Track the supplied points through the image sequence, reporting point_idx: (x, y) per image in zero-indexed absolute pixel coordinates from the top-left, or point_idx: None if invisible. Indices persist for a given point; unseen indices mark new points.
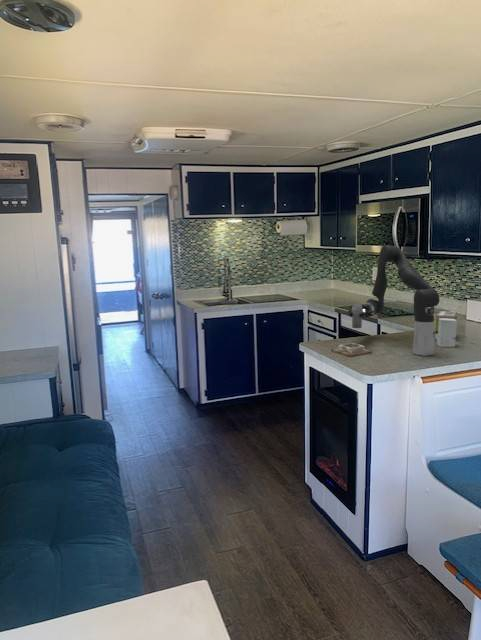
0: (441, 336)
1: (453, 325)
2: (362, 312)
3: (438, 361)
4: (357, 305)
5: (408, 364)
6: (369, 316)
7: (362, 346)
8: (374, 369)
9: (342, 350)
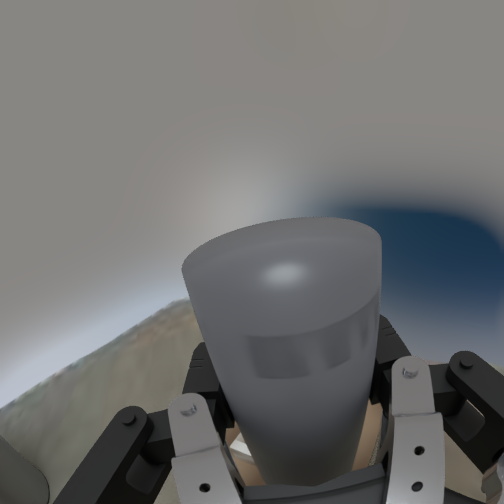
0: None
1: None
2: (249, 490)
3: (19, 421)
4: (264, 237)
5: (90, 383)
6: (138, 465)
7: (239, 436)
8: (173, 326)
9: None
